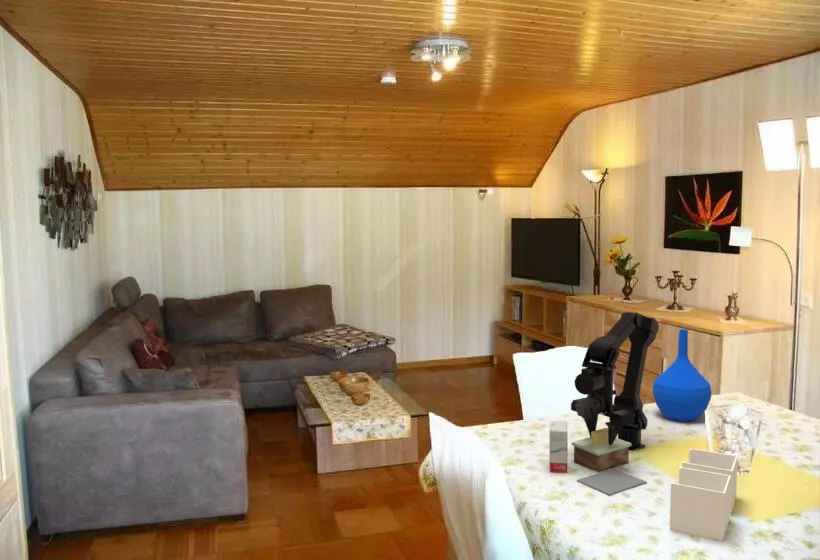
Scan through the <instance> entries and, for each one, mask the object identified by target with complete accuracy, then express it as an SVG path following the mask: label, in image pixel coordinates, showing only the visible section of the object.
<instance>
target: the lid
mask: <svg viewBox="0 0 820 560" xmlns="http://www.w3.org/2000/svg"><path fill="white" fill-rule="evenodd" d="M571 446H573V447H574V446H575V447H578V448H580V449H583V450H585V451H588V452H591V453H593V454H596V455H598V456H599V455H603V454H606V453H609V452H613V451H616V450H620V449H623V448H626V447H630V446H631V443H629V442H627V441H624V440H621V439H618V437H616V439H615V440H614V442H613V444H612V445H609V442H608V427H604V428H601V429H600V428H599V429H596V431H592V432H591V437H590V436H589V437H585V438H581V439H579V440H578V439H577V440H575V441H572V442H571Z"/></svg>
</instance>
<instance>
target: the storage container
mask: <svg viewBox="0 0 820 560" xmlns="http://www.w3.org/2000/svg"><path fill="white" fill-rule="evenodd" d="M738 458H739V457H738V455H735V454H730V453H723V452H722V453H721V452H716V451H710V450H703V449H697V448H689V451H688V462H686V461H684V460H683V461H682V465H681V466H679V468H678V483H675V482H674V481H671V483H670V502H669V503H670V508H669V530H670V531H675V532H680V533H683V534H689V535H693V536H697V537H701V536H702V537H701V538H706V537H708V538H707V539H711V538H713V539H712V540H715V539H718V540H717V541H720V540H723V539H725V537H724V536H725V535H726V532H727V530H728V527H729V523H728V522H730V515H731V516H732V513H733V510H732V509H734V507H733V505H734V506H735V503H736V500H735V499H737V486H738V485H737V484H738V483H737V482H738V481H737V480H738V464H739V463H738V462H739V461H738ZM734 502H735V503H734ZM731 512H732V513H731ZM729 514H730V515H729ZM727 526H728V527H727ZM726 529H727V530H726ZM723 541H724V540H723Z"/></svg>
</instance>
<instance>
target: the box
mask: <svg viewBox="0 0 820 560" xmlns="http://www.w3.org/2000/svg"><path fill="white" fill-rule="evenodd" d="M629 451H630V450H629V447H626V448H623V449H620V450H616V451H613V452H609V453H606V454H603V455H599V456H598V455H596V454H593V453H591V452H588V451H585V450H583V449H580V448H578V447H575V446H573V463H575V464H577V465H580V466H582V467H584V468H586V469H589V470H591V471H594V472H596V473H600V472H604V471H607V470H610V469H613V468H614V469H615V468H617V467H621V466H623V465H624V466H625V465H627V464H629V459H630V458H629V455H630V454H629V453H630V452H629Z"/></svg>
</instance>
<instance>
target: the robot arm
mask: <svg viewBox="0 0 820 560" xmlns="http://www.w3.org/2000/svg"><path fill="white" fill-rule="evenodd" d="M620 315H621V316H620V318H619V319H618V320H617V322H616V323H615V324H614V325H613V327H611V329H610V330H609V331H608V332H607V333H606V334H605V335H602V336H600V337H597V338H595V339H594V340H592V341H591V343H590V344H589V345H588V347H587V350H586V353H585V356H584V358H583V361H582V363H581V367H582V368H581V370H580V371H581V372H580V373H579V374H578V375H576V377H575V379H574V387H575V389H576V390H577V392H578V393H580V394H582V395H586V397H581V398H577V399H572V402H571V403H570V411H573V412H576V413H577V416H578V417H581V418H582V419H583V420H584V423H585V425H586V429H587V431H588V434H589V437H591V432H592V431H596V430H597V426H598V425H597V424H598V419H599V415H602V416H603V417H604V416H605V417H607V418H608V419H609V421H606V422H605V424H604V425H606V426H607V428H608V442H609V445H612V444H613V442H614V440H615V439H616V438H618V439H621V440H624V441H627V442H629V443H631V446H630V447H629V451H636V450H639V449H641V448H645V447H646V445H645V444H644V443H642V441H641V440H642V431H643V430H646V429H647V426H648V422H649V421H648V418H647V416H646V414H645V413H644V404H643V401H642V399H641V396H640V393H641V388H642V387H641V386H642V383H643V375H644V370H645V366H646V365H645V364H646V360H647V354H648V348H649V347H650V346H651V345H652V344H653V342H654V341H656V338H657V337H656V336H657V334H658V332H659V328H660V325H659V322H657V321H656V319H655V318H654V317H648V316H646V315H643V314H641V313H638V312H633V311H625V312H622V314H620ZM627 339H629V342H630V347H629V354H628V357H627V358H628V359H627V365H626V371H625V375H624V381H623V386H622V391H621V392H620V393H619V394H618V395H617V389H616V390H615V389H614V370H615V369H616V368H617V366H616V365H615V364H616V362H617V360H618V358H619V356H620V348H621V346H622V345H623V344H624V343H625V341H626V340H627ZM613 395H615V396H613ZM613 397H614V398H613Z"/></svg>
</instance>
